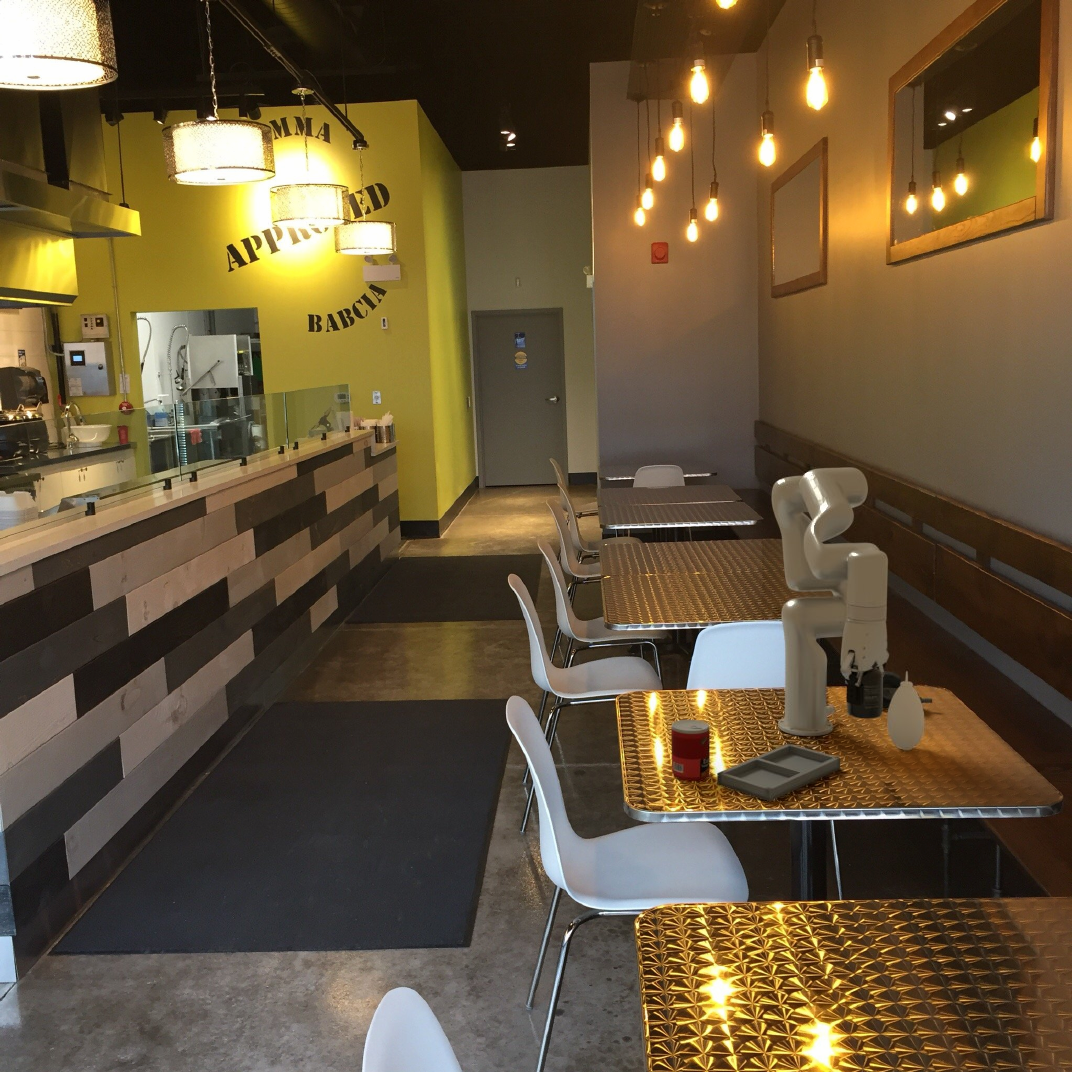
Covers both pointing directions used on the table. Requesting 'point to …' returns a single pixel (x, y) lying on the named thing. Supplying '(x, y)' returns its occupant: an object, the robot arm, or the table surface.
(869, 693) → the supplement bottle
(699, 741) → the canned food
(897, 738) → the white air blower bulb
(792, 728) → the robot arm
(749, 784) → the caddy
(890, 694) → the caster wheel
